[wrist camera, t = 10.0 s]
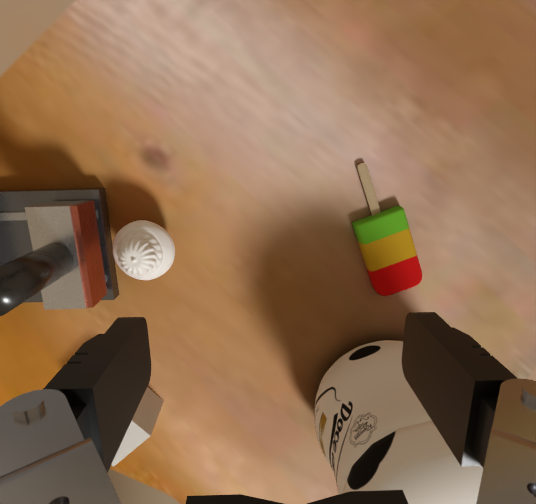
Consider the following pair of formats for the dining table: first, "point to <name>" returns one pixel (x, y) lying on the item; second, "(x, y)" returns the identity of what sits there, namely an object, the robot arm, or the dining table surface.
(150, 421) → the white cube
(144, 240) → the white rounded ridged piece
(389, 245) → the popsicle
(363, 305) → the dining table surface
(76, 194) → the jaw track
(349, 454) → the milk container
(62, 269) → the sliding jaw
